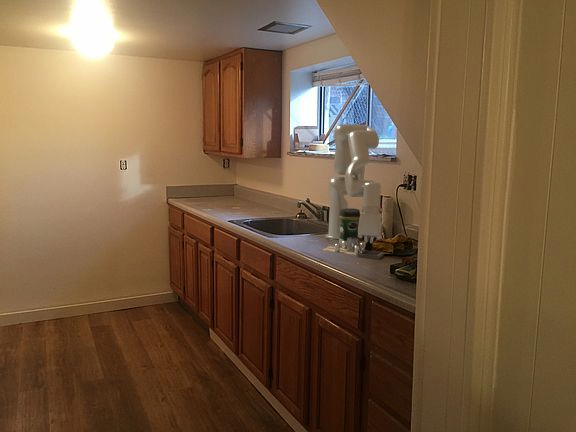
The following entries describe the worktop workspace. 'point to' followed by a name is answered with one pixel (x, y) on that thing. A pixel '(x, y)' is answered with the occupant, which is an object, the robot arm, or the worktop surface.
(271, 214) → the worktop surface
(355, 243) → the nut
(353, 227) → the coffee jar
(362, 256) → the tray
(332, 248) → the board
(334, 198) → the robot arm
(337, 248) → the spacers
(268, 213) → the worktop surface
